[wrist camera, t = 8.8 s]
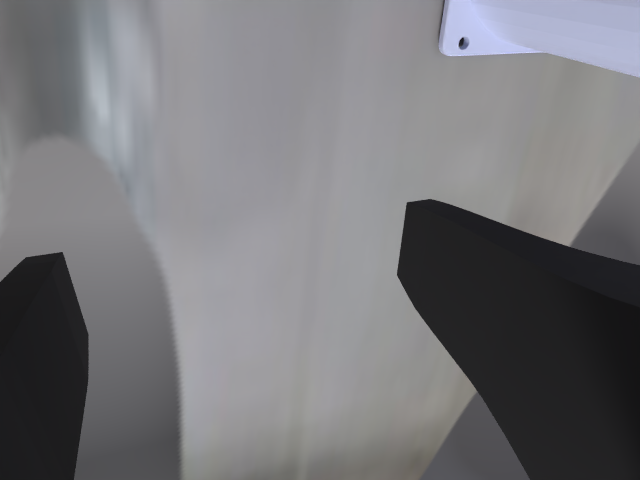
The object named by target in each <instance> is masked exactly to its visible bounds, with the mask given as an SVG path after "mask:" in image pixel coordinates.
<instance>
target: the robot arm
mask: <svg viewBox="0 0 640 480" xmlns="http://www.w3.org/2000/svg"><path fill="white" fill-rule="evenodd" d="M462 37H463V38H464V43H463V45H462V46H461V47H460V48H459V46H458V43H459V41H460V39H461V38H462ZM439 49H440V51H441V52H442V53H443V54H445V55H448V56H466V55H489V54H513V53H536V52H546V53H550V54H554V55H558V56H561V57H565V58H569V59H573V60H576V61H580V62H584V63H588V64H591V65H595V66H599V67H603V68H606V69H610V70H614V71H618V72H621V73H625V74H629V75H633V76H636V77H640V0H445V4H444V11H443V18H442V24H441V31H440V38H439ZM397 276H398V278H399V280H400V282H401V284H402V285H403V287H404V289H405V291H406V293H407V295H408V297H409V298H410V300H411V302H412V304H413V305H414V307H415V309H416V310H417V311H418V313H419V314H420V316H421V317H422V318H423V320H424V321H425V322H426V324H427V325H428V326H429V328H430V329H431V330H432V332H433V333H434V334H435V336H436V337H437V338H438V339H439V341H440V342H441V343H442V345H443V346H444V347H445V349H446V350H447V351H448V352H449V354H450V355H451V356H452V358H453V359H454V360H455V362H456V363H457V364H458V366H459V367H460V368H461V369H462V371H463V372H464V373H465V375H466V376H467V377H468V379H469V380H470V381H471V383H472V384H473V385H474V387H475V388H476V390H477V391H478V393H479V394H480V395H481V397H482V398H483V400H484V402H485V403H486V405H487V406H488V408H489V410H490V411H491V413H492V415H493V416H494V418H495V420H496V421H497V423H498V425H499V426H500V428H501V429H502V431H503V432H504V434H505V436H506V438H507V439H508V441H509V443H510V445H511V446H512V448H513V450H514V452H515V453H516V455H517V457H518V459H519V461H520V462H521V464H522V466H523V467H524V469H525V471H526V473H527V475H528V476H529V478H530V480H640V265H636V264H631V263H627V262H622V261H619V260H615V259H611V258H607V257H603V256H599V255H596V254H592V253H588V252H585V251H581V250H578V249H575V248H571V247H568V246H565V245H562V244H559V243H556V242H553V241H550V240H547V239H544V238H541V237H538V236H535V235H532V234H529V233H526V232H523V231H521V230H518V229H515V228H513V227H510V226H507V225H504V224H502V223H499V222H496V221H494V220H491V219H488V218H486V217H483V216H480V215H478V214H475V213H472V212H470V211H467V210H464V209H462V208H459V207H456V206H453V205H450V204H447V203H443V202H440V201H436V200H432V199H428V200H421V201H414V202H407V205H406V213H405V220H404V227H403V234H402V242H401V249H400V256H399V264H398V271H397ZM87 385H88V332H87V329H86V325H85V322H84V319H83V316H82V313H81V309H80V306H79V303H78V300H77V297H76V293H75V290H74V287H73V284H72V281H71V277H70V274H69V271H68V268H67V265H66V261H65V258H64V255H63V252H60V253H53V254H46V255H40V256H32V257H26V258H25V259H24V260H23V261H21V262H20V263H19V264H18V265H17V266H16V267H15V268H14V269H13V270H12V271H11V272H10V273H9V274H8V275H7V276H6V277H5V278H4V279H3V280H2V281H1V282H0V480H74V473H75V468H76V461H77V454H78V447H79V441H80V434H81V427H82V421H83V414H84V407H85V399H86V393H87Z"/></svg>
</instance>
